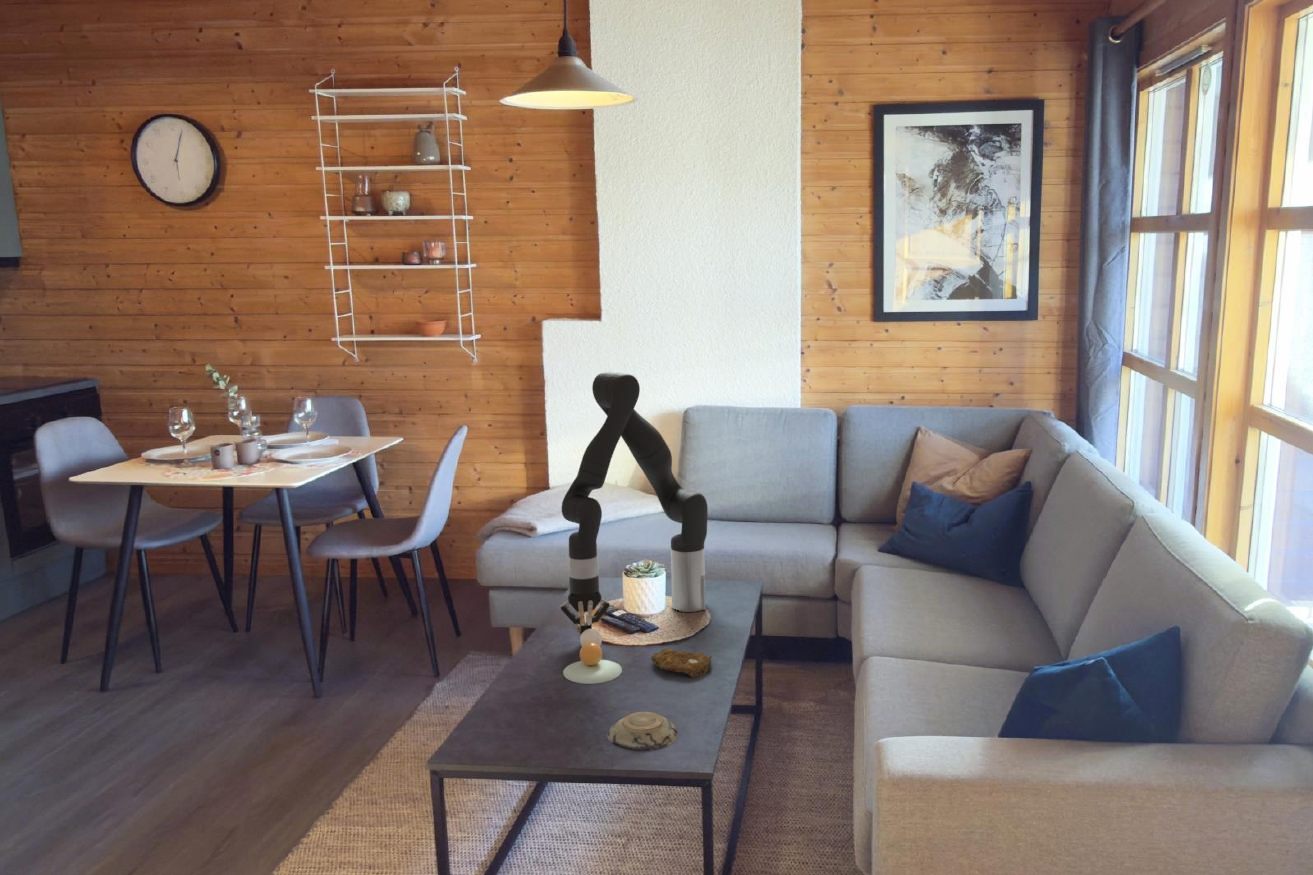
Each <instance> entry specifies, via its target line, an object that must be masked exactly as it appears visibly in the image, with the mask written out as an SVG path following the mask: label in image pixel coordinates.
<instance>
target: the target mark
mask: <svg viewBox="0 0 1313 875" xmlns="http://www.w3.org/2000/svg"><path fill="white" fill-rule="evenodd" d="M622 672H623V669H622V666H621V665H620V664H619V663H616V662H614V661H612V660H608V659H607V660H606V659H601V660H600V662H599V663H598V664H596V665H593V666H589V665H586V664H584V663H583V662H582V661H581V660H580V661H579V660H578V661H575V662H572V663H570V664H569V665H567V666H566V667H565V668H564V669H563V672H562V675H563V676H564V678H565V679H567V680H568V681H569V682H573V683H577V684H583V685H584V684H585V685H596V684H603V683H608V682H611V681H613V680H615V679H617V678H618V677H620V675H622Z"/></svg>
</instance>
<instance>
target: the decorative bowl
mask: <svg viewBox="0 0 1313 875" xmlns="http://www.w3.org/2000/svg"><path fill="white" fill-rule="evenodd" d="M677 732H678V729H677V727H676V726H675V724H674V723H672V721H670V720H669V719H668V718H666V717H664V716H663V715H659V714H658V713H655V712H652V711H638V712H632V713H630V714H627V715H626V716H625V717H623V718H621V719H619V720H617V721H616V722H615V723H614V724H613V725H611V727H610V728H609V731H608V732H607V734H606V735H607V739H608V740H609V742H610V743H611V744H616V745H618V746H620V747H623V748H625V749H629V750H634V751H637V752H638V751H639V752H646V751H650V752H651V751H656V750H659V749H660V750H661V749H664V748H666V747H668V746H670V745H671V744H673V743H675V741H677V739H678V735H677Z"/></svg>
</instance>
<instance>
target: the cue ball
mask: <svg viewBox="0 0 1313 875" xmlns="http://www.w3.org/2000/svg"><path fill="white" fill-rule="evenodd" d="M602 638H603V637H602V635H601V632H599V631H598V630H597V629H594V628H592V629H587V630H585V631H584V632H583V633H582V634H580V636H579V643H580V645H581V648H582V647H583V646H584V645H585V644H587V643H595V644H597V645H599V646H600V647H601V645H602V642H603V639H602Z"/></svg>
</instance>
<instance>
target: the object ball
mask: <svg viewBox="0 0 1313 875" xmlns="http://www.w3.org/2000/svg"><path fill="white" fill-rule="evenodd" d="M602 658H603V650H602V648H601V645H600V646H599V645H597V644H595V643H587V644H585V645H584V646H583V647H582V646H581V648H580V649H579V659H580V661H582V662H583V663H584V664H586V665H589V666H593V665H596V664H598V663H599V662H600V660H602Z"/></svg>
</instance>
